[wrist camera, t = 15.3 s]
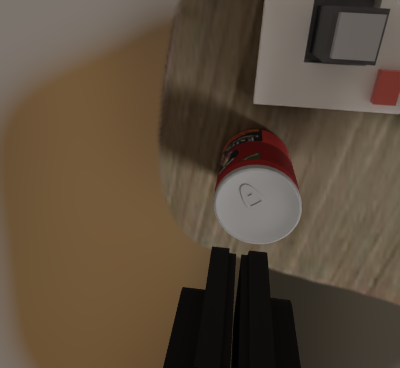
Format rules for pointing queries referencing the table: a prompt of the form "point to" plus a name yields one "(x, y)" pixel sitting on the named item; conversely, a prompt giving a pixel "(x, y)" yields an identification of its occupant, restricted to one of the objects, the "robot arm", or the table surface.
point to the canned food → (257, 188)
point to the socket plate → (323, 71)
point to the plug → (348, 34)
